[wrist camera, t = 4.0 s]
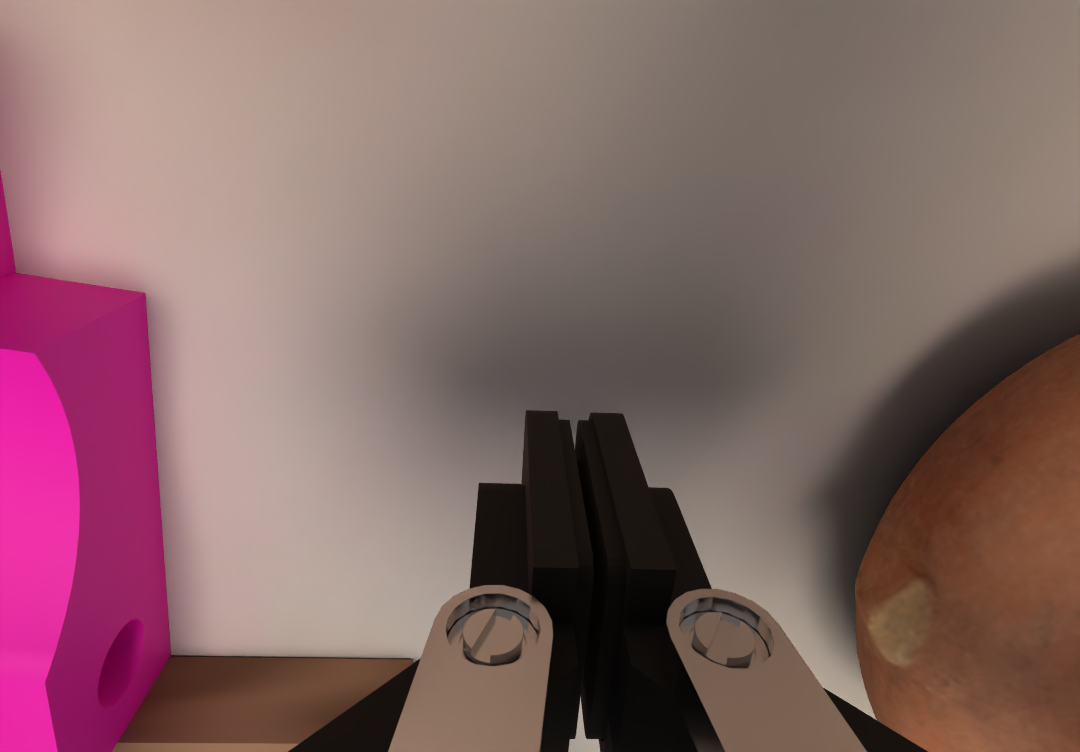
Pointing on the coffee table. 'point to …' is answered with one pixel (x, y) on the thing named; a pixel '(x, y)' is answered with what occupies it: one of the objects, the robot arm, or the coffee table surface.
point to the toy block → (76, 513)
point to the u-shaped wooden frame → (249, 702)
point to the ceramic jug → (983, 576)
